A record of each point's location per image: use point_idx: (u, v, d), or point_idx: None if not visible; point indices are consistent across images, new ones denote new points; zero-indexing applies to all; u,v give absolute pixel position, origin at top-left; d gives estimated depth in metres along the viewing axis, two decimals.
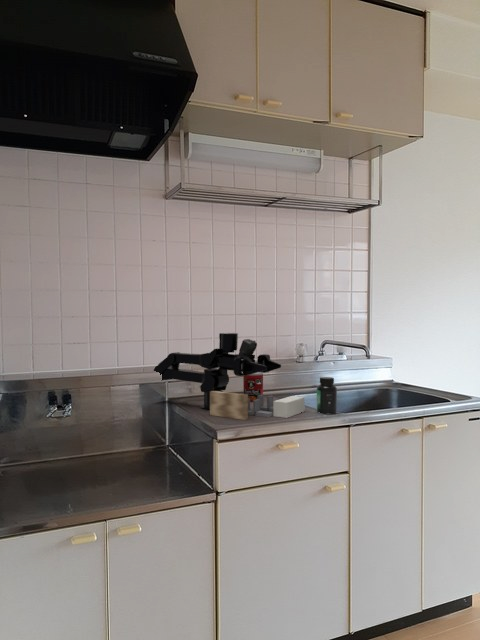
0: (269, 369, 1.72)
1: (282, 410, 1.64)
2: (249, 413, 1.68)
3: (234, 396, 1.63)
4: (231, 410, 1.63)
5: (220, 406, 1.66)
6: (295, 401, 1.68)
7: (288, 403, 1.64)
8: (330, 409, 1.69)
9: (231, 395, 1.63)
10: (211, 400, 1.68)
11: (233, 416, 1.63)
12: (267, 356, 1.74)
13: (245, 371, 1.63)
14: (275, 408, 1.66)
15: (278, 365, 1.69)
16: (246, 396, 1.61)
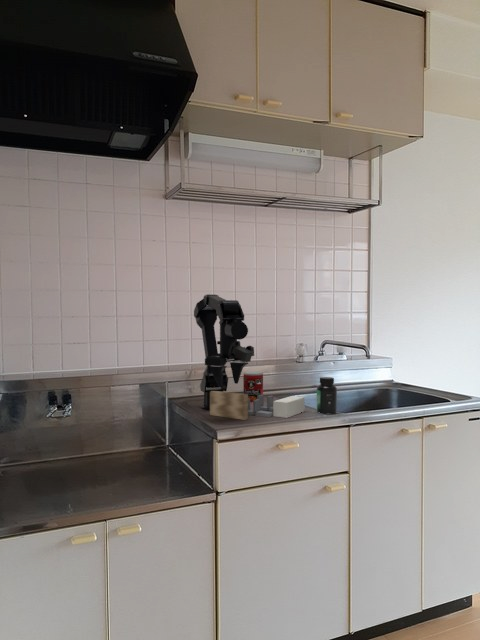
0: (232, 369, 1.70)
1: (282, 410, 1.64)
2: (249, 413, 1.68)
3: (234, 396, 1.63)
4: (231, 410, 1.63)
5: (220, 406, 1.66)
6: (295, 401, 1.68)
7: (288, 403, 1.64)
8: (330, 409, 1.69)
9: (231, 395, 1.63)
10: (211, 400, 1.68)
11: (233, 416, 1.63)
12: (245, 364, 1.69)
13: None
14: (275, 408, 1.66)
15: (236, 381, 1.69)
16: (246, 396, 1.61)
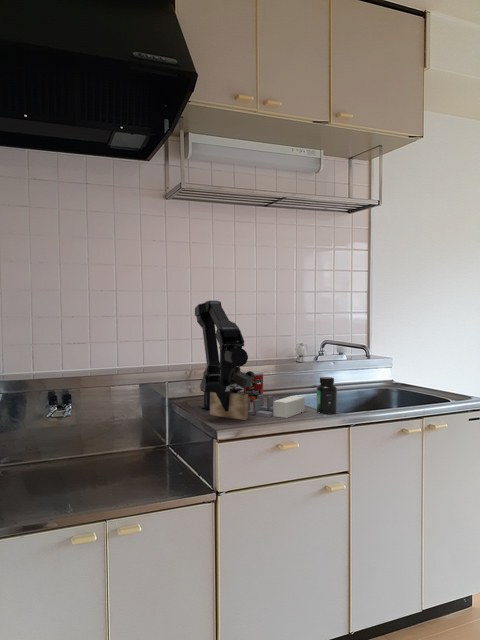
0: None
1: (282, 410, 1.64)
2: (249, 413, 1.68)
3: (234, 396, 1.63)
4: (231, 410, 1.63)
5: (220, 405, 1.66)
6: (295, 401, 1.68)
7: (288, 403, 1.64)
8: (330, 409, 1.69)
9: (231, 395, 1.63)
10: (211, 400, 1.68)
11: (233, 416, 1.63)
12: (239, 390, 1.66)
13: None
14: (275, 408, 1.66)
15: None
16: (246, 396, 1.61)
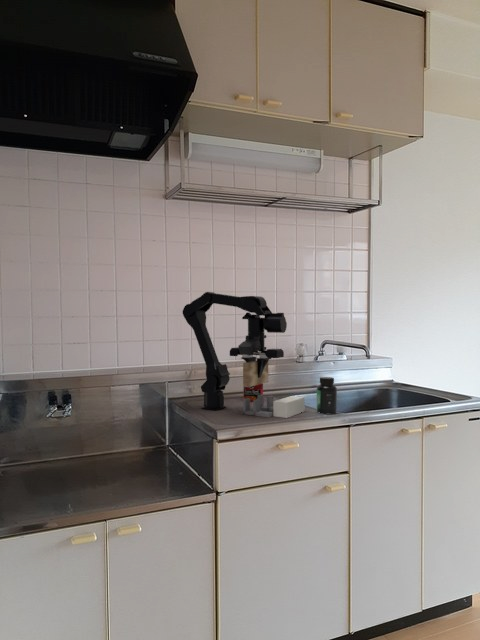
0: None
1: (282, 410, 1.64)
2: (249, 413, 1.68)
3: None
4: None
5: None
6: (295, 401, 1.68)
7: (288, 403, 1.64)
8: (330, 409, 1.69)
9: None
10: None
11: None
12: (259, 359, 1.69)
13: None
14: (275, 408, 1.66)
15: None
16: (246, 364, 1.66)
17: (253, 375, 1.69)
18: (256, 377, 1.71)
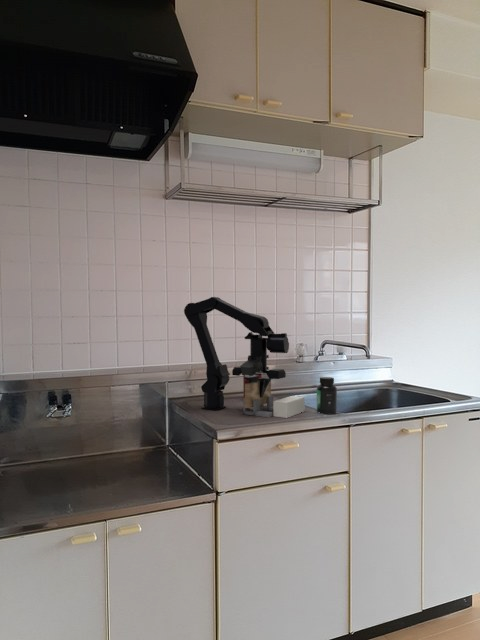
0: None
1: (282, 410, 1.64)
2: (249, 413, 1.68)
3: None
4: None
5: None
6: (295, 401, 1.68)
7: (288, 403, 1.64)
8: (330, 409, 1.69)
9: None
10: None
11: None
12: (261, 380, 1.70)
13: None
14: (275, 408, 1.66)
15: None
16: (247, 385, 1.67)
17: (254, 396, 1.70)
18: (258, 398, 1.72)
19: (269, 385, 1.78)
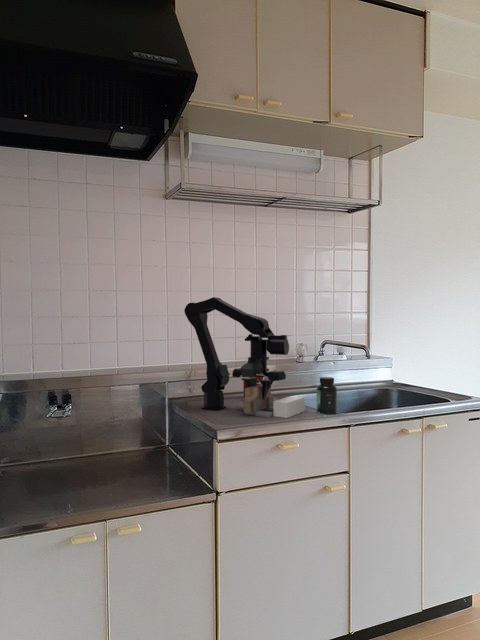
0: None
1: (282, 410, 1.64)
2: (249, 413, 1.68)
3: None
4: None
5: None
6: (295, 401, 1.68)
7: (288, 403, 1.64)
8: (330, 409, 1.69)
9: None
10: None
11: None
12: (263, 382, 1.69)
13: None
14: (275, 408, 1.66)
15: None
16: (247, 390, 1.67)
17: None
18: None
19: (269, 389, 1.78)
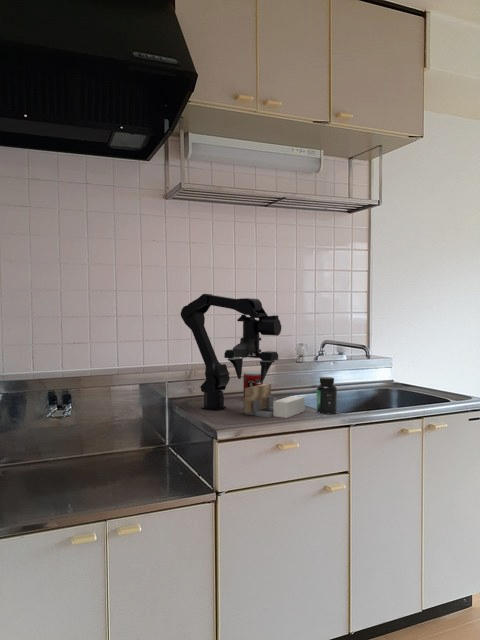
0: None
1: (282, 410, 1.64)
2: (249, 413, 1.68)
3: None
4: None
5: None
6: (295, 401, 1.68)
7: (288, 403, 1.64)
8: (330, 409, 1.69)
9: None
10: None
11: None
12: (262, 363, 1.66)
13: None
14: (275, 408, 1.66)
15: None
16: (247, 390, 1.67)
17: None
18: None
19: (269, 389, 1.78)
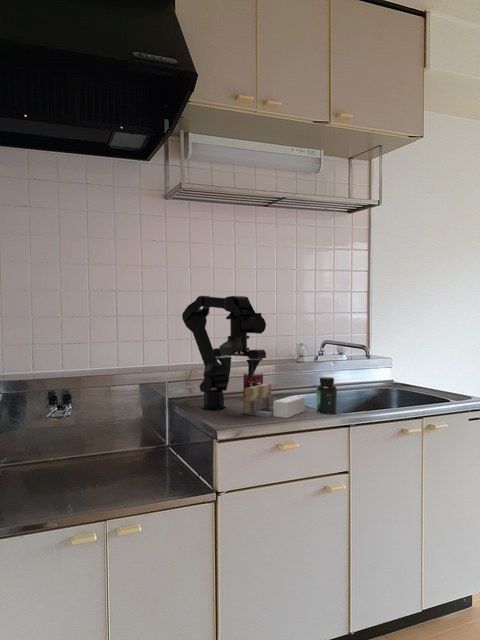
0: None
1: (282, 410, 1.64)
2: (249, 413, 1.68)
3: None
4: None
5: None
6: (295, 401, 1.68)
7: (288, 403, 1.64)
8: (330, 409, 1.69)
9: None
10: None
11: None
12: (249, 361, 1.64)
13: None
14: (275, 408, 1.66)
15: None
16: (247, 390, 1.67)
17: None
18: None
19: (269, 389, 1.78)
